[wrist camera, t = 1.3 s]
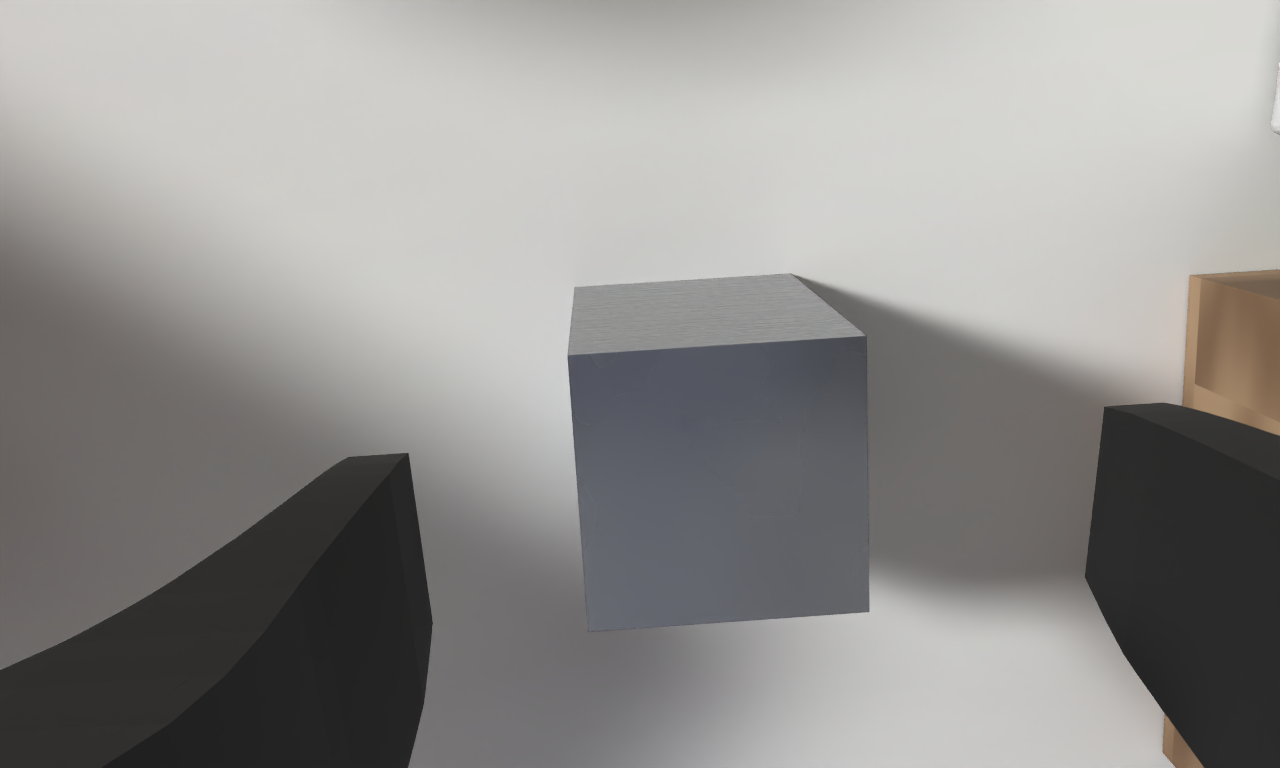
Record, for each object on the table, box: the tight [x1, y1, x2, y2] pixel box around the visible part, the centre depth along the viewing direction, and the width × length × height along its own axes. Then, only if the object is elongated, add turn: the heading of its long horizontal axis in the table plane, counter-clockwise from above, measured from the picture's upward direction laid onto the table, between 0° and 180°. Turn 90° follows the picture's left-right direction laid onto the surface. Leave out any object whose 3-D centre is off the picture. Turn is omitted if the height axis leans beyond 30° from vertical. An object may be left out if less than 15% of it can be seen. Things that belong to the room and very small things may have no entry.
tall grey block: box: [568, 274, 869, 632], centre depth 18 cm, size 4×4×6 cm
